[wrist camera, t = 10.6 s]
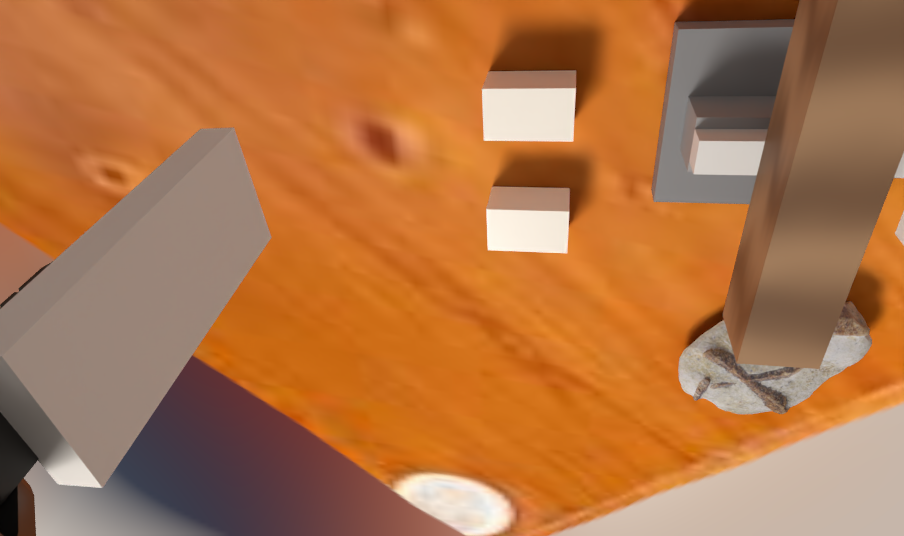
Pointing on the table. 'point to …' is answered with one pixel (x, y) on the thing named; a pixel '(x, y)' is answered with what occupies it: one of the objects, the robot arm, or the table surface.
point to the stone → (766, 369)
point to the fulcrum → (719, 109)
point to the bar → (819, 180)
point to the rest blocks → (528, 119)
